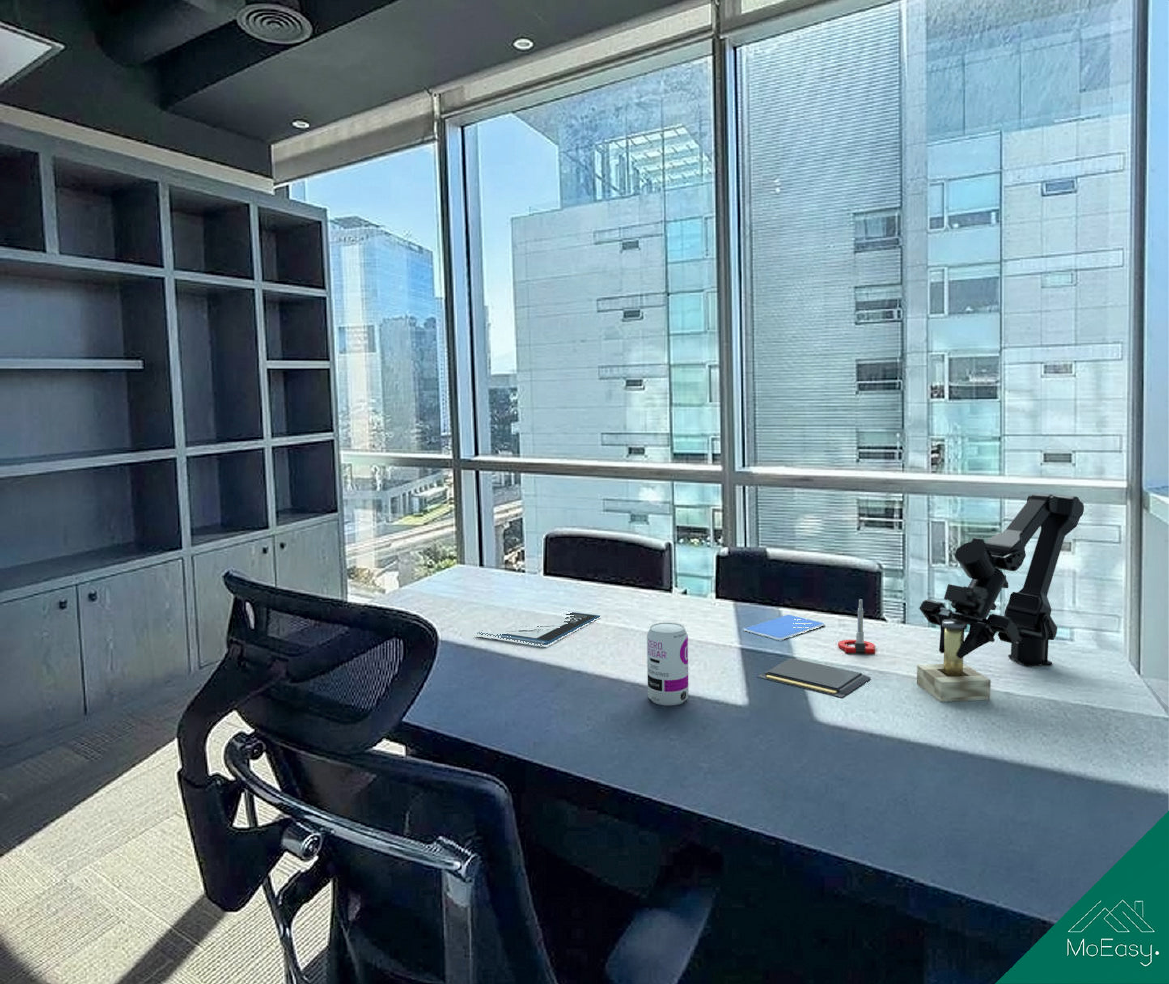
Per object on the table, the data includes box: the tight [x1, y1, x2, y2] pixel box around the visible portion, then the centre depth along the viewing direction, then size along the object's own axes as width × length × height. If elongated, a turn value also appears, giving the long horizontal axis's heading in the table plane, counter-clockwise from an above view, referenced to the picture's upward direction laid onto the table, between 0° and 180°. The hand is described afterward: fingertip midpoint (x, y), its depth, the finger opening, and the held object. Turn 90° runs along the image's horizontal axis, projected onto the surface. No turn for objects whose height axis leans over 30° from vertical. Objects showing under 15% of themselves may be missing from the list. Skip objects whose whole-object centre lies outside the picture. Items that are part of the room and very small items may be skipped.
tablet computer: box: [742, 614, 826, 641], centre depth 206 cm, size 19×13×1 cm, turn 128°
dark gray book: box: [756, 657, 872, 699], centre depth 170 cm, size 20×2×15 cm
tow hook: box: [837, 598, 876, 655], centre depth 188 cm, size 8×13×9 cm
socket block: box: [916, 662, 992, 703], centre depth 160 cm, size 10×10×4 cm
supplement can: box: [646, 622, 689, 707], centre depth 159 cm, size 8×8×15 cm
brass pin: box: [942, 619, 968, 677], centre depth 159 cm, size 5×5×13 cm
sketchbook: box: [476, 611, 601, 646], centre depth 212 cm, size 22×30×2 cm
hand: (949, 654), depth 159 cm, fingers closed on brass pin, 4 cm apart
